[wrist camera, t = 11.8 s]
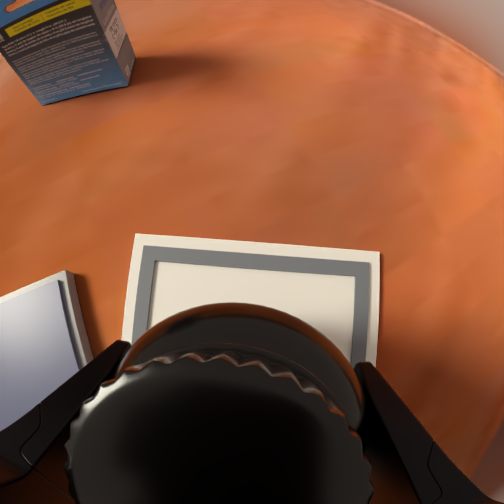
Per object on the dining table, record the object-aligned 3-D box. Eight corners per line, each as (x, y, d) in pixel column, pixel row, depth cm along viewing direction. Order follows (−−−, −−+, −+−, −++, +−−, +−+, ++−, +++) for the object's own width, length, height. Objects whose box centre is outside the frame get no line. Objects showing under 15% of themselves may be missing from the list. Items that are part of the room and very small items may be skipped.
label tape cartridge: (138, 56, 22) (96, -62, 10) (129, 88, 21) (72, -40, 9) (53, 77, 22) (-6, -15, 10) (40, 108, 21) (-32, 15, 9)
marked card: (356, 484, 14) (358, 487, 14) (119, 463, 15) (116, 466, 14) (377, 253, 18) (380, 251, 17) (137, 235, 18) (134, 232, 18)
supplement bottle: (164, 418, 15) (4, 521, 3) (208, 297, 16) (75, 206, 5) (291, 463, 14) (321, 642, 2) (338, 342, 15) (497, 347, 4)
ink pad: (125, 447, 15) (117, 454, 14) (9, 456, 14) (-1, 460, 13) (73, 273, 18) (62, 269, 16) (-29, 315, 17) (-40, 314, 16)
